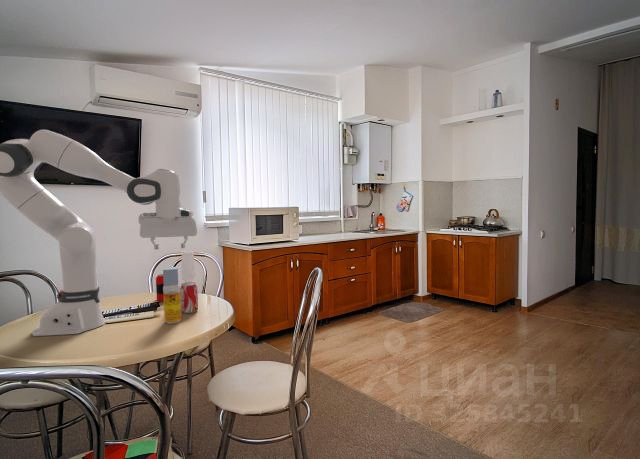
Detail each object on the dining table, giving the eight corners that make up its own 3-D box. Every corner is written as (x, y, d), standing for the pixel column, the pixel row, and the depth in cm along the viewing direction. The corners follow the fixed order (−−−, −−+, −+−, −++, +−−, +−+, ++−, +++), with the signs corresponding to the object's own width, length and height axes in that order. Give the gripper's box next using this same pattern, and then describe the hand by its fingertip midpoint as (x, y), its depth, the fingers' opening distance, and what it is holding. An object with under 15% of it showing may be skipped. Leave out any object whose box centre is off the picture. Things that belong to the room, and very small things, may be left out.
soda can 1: (176, 297, 183) (175, 273, 182) (168, 301, 175) (167, 276, 174) (162, 297, 184) (161, 273, 183) (153, 301, 176) (152, 276, 175)
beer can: (166, 325, 142) (164, 286, 141) (163, 321, 147) (161, 283, 146) (183, 322, 145) (181, 284, 144) (179, 318, 150) (178, 281, 149)
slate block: (163, 285, 142) (163, 269, 142) (164, 282, 147) (164, 267, 146) (178, 284, 144) (177, 269, 143) (178, 281, 148) (177, 266, 148)
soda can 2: (195, 314, 156) (193, 285, 155) (178, 314, 156) (176, 285, 155) (200, 309, 163) (199, 281, 162) (184, 309, 163) (183, 281, 162)
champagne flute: (200, 303, 172) (198, 251, 171) (192, 307, 166) (190, 253, 164) (187, 302, 174) (185, 250, 172) (178, 306, 167) (176, 252, 166)
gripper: (137, 213, 137) (138, 251, 138) (196, 212, 143) (197, 248, 144) (139, 212, 143) (141, 249, 144) (196, 211, 149) (197, 246, 150)
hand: (169, 248), depth 144 cm, fingers open, 8 cm apart
